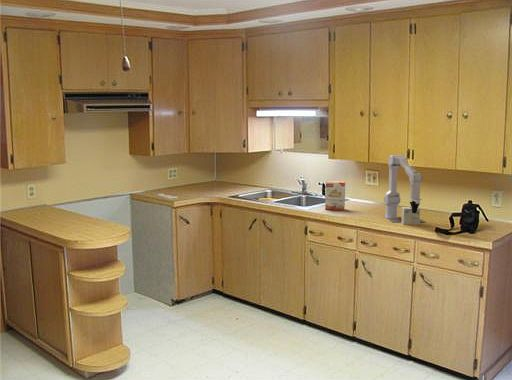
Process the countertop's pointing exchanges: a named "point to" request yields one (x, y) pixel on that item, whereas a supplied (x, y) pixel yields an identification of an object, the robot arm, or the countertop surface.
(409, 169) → the robot arm
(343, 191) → the cracker box
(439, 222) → the countertop surface
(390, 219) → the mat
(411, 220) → the light bulb box
